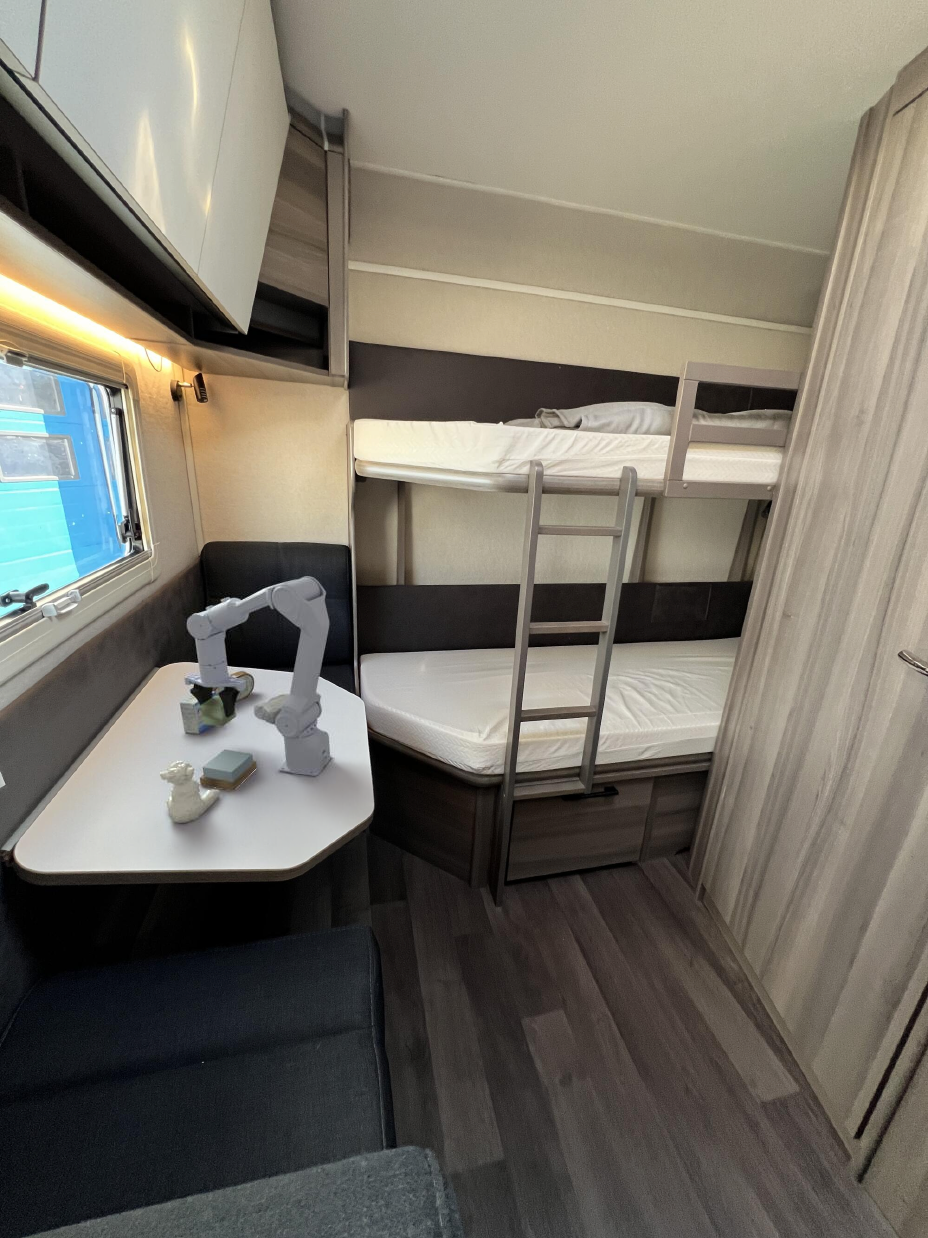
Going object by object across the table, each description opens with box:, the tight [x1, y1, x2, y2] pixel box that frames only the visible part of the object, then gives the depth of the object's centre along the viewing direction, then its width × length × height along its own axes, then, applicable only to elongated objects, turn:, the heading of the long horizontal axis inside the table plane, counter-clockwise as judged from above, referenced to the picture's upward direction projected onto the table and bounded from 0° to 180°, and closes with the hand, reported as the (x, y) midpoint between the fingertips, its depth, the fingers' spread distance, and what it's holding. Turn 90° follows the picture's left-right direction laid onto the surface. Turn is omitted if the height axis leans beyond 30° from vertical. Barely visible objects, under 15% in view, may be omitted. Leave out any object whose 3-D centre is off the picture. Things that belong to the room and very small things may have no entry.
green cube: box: [201, 696, 237, 727], centre depth 111 cm, size 5×5×5 cm
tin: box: [213, 670, 255, 703], centre depth 136 cm, size 15×3×8 cm, turn 154°
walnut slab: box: [199, 760, 258, 791], centre depth 103 cm, size 8×8×2 cm
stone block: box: [253, 693, 290, 724], centre depth 132 cm, size 12×5×10 cm
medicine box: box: [179, 691, 216, 735], centre depth 122 cm, size 8×4×9 cm, turn 168°
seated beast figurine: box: [159, 760, 221, 824], centre depth 90 cm, size 10×9×12 cm
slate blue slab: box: [202, 749, 254, 782], centre depth 102 cm, size 7×7×2 cm
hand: (219, 714), depth 111 cm, fingers closed on green cube, 5 cm apart
